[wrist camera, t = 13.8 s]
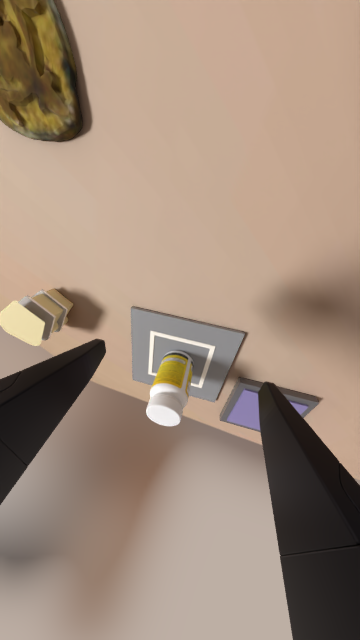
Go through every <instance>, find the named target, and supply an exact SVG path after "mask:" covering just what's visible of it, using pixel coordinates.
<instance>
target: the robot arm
mask: <svg viewBox="0 0 360 640" xmlns="http://www.w3.org/2000/svg"><path fill="white" fill-rule="evenodd" d="M105 353H106V348H105V342H104V340H101V339H95V340H92V341H90V342H88V343H85V344H83V345H81V346H78V347H76V348H74V349H71V350H69V351H66V352H64V353H62V354H59V355H57V356H55V357H52V358H50V359H48V360H46V361H43V362H41V363H38V364H36V365H33V366H31V367H29V368H26V369H24V370H22V371H19V372H17V373H15V374H12V375H10V376H7V377H5V378H2V379H0V505H1V503H2V502H3V500H4V499H5V498H6V496H7V495H8V493H9V492H10V491H11V489H12V488H13V487H14V485H15V484H16V482H17V481H18V480H19V478H20V477H21V475H22V474H23V473H24V471H25V470H26V468H27V466H28V465H29V464H30V463H31V461H32V460H33V459H34V457H35V456H36V454H37V453H38V451H39V450H40V449H41V447H42V446H43V445H44V443H45V442H46V440H47V439H48V438H49V436H50V435H51V434H52V432H53V431H54V429H55V428H56V427H57V425H58V424H59V422H60V421H61V420H62V418H63V417H64V416H65V414H66V413H67V411H68V410H69V409H70V407H71V406H72V404H73V403H74V402H75V400H76V399H77V397H78V396H79V394H80V393H81V392H82V390H83V389H84V388H85V386H86V385H87V384H88V382H89V381H90V379H91V378H92V376H93V375H94V373H95V371H96V369H97V368H98V366H99V364H100V362H101V361H102V359H103V357H104V356H105ZM258 404H259V423H260V431H261V438H262V444H263V450H264V456H265V463H266V469H267V475H268V482H269V489H270V495H271V501H272V508H273V514H274V521H275V527H276V533H277V540H278V546H279V552H280V555H281V556H280V560H281V566H282V572H283V579H284V585H285V591H286V598H287V604H288V610H289V617H290V623H291V630H292V636H293V640H360V485H359V484H358V483H357V482H356V481H355V479H354V478H353V477H352V476H351V475H350V474H349V472H348V471H347V470H346V469H345V468H344V466H343V465H342V464H341V463H339V461H338V459H337V458H336V457H335V456H334V455H333V453H332V452H331V451H330V450H329V449H328V447H327V446H326V445H325V444H324V443H323V441H322V440H321V439H320V438H319V437H318V435H317V434H316V433H315V432H314V431H313V429H312V428H311V427H310V426H309V425H308V423H307V422H306V421H305V420H304V419H303V417H302V416H301V415H300V414H299V413H298V411H297V410H296V409H295V408H294V407H293V405H292V404H291V403H290V402H289V401H288V399H287V398H286V397H285V396H284V395H283V394H282V392H281V391H280V390H279V389H278V388H277V386H276V385H275V384H274V383H270V382H264V384H263V385H262V387H261V388H260V390H259V392H258Z"/></svg>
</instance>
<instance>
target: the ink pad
mask: <svg viewBox="0 0 360 640" xmlns="http://www.w3.org/2000/svg"><path fill="white" fill-rule="evenodd" d="M263 384H264V383H261V382H257V381H253V380H249V379H245V378H241V377H239V379H238V380H237V382H236V384H235V386H234V388H233V390H232V392H231V394H230V396H229V398H228V400H227V402H226V404H225V406H224V408H223V410H222V412H221V414H220V421H224V422H227V423H231V424H234V425H238V426H241V427H245V428H248V429H252V430H255V431H259V432H261V431H260V423H259V404H258V392H259V390H260V388H261V387H262V385H263ZM277 388H278V389H279V390H280V391H281V392H282V394H283V395H284V396H285V397H286V398H287V399H288V401H289V402H290V403H291V404H292V405H293V407H294V408H295V409H296V410H297V411H298V413H299V414H300V415H301V416H302V417H303V418H304V417H305V416H306V415H307V414H308V413H309V412H310V411H311V410H312V409H313V408H315V407H316V406H317V405H318V404H319V402H318V400H317V398H316V397H315V396H312V395H308V394H304V393H300V392H296V391H292V390H288V389H284V388H280V387H277Z"/></svg>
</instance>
